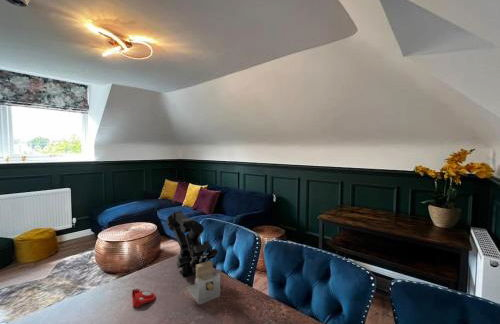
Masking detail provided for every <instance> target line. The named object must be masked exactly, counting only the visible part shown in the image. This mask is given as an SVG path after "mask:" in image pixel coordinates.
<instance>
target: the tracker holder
mask: <svg viewBox="0 0 500 324" xmlns="http://www.w3.org/2000/svg"><path fill="white" fill-rule="evenodd" d="M131 292H132V293H131V296H132V307H134V308H139V307H141V306H142V305H145V304H146V303H147V304H148V303H152V302H154V301H155V300H156V294H155V293H153V292H152V291H148V290H147V291H146V290H141V289H139V288H133V289H131Z"/></svg>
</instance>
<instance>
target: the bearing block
mask: <svg viewBox="0 0 500 324" xmlns="http://www.w3.org/2000/svg"><path fill="white" fill-rule="evenodd" d="M209 282H211V283H212V284H213V285H214V290H213V291H210V290H209V289H208V288H207V287H206V283H209ZM186 289H187V290H188V293H189V294H190V295H191V296H192V298H193V300H195V302H196V304H197V305H202V304H205V303H207V302H210V301H212V300H215V299H217V298H220V297H221V275H220V273H218V272H217V271H213V273H210V274H207V275H204V276H201V277H198V278H196V277H195V278H194V284H190V285H188V286H186Z"/></svg>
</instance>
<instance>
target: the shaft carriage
mask: <svg viewBox="0 0 500 324" xmlns="http://www.w3.org/2000/svg"><path fill="white" fill-rule="evenodd" d="M213 272H214V263H213V261H212V260H208V261H207V260H206V261H205V262H204V263H200V264H197V265H196V269H195V278H198V277H201V276H204V275H207V274H210V273H213ZM206 287H207V288H208V289H209V290H210V291H213V290H214V285H213V284H212V283H211V282H209V283H206Z"/></svg>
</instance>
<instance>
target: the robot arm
mask: <svg viewBox="0 0 500 324" xmlns="http://www.w3.org/2000/svg"><path fill="white" fill-rule="evenodd" d="M165 222H166V223H165V225H166V226H167V227H168V230H170V231H172V232H173V233H174V236H175V238H176V240H177V243H178V246H179V249H180V250H179V251H180V252H179V254H178V256H177V262H176V267H177V269H181V270H179V273H180V275H181V276H182V278H186V277H189V276H192V275H196V265H197V264H200V263H204V262H207V260H212V259H215V258H216V257H217V256H218V254H219V251H218V249H217V248H211V247H210V246H211V245H210V242H209V240H205V241H203V243H202V241H200V238H201V236H202V234H203V232H204V230H205V227H204V225H203V224H201V223H200V222H198V220H195V219H194V218H189V217H187V216H186V215H185V214H184V213H183V211H181V210H178V211H172V214H170V215H169V216H168V217H167V218H166V221H165ZM186 233H187V234H186ZM209 248H211V249H209ZM208 249H209V250H208ZM206 251H207V252H206ZM205 252H206V253H205ZM194 269H195V270H194Z"/></svg>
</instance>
